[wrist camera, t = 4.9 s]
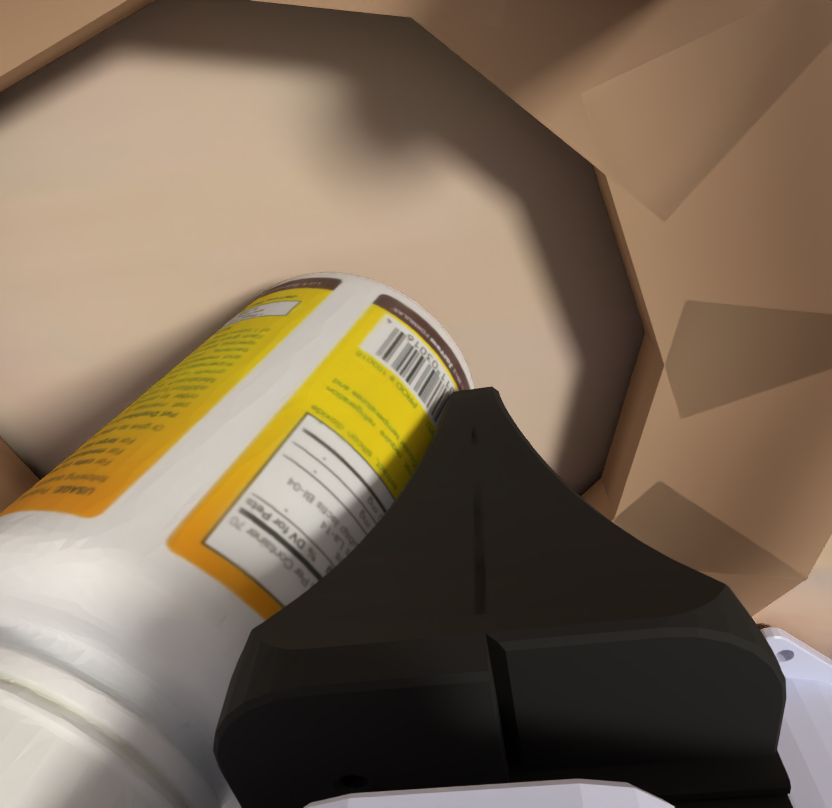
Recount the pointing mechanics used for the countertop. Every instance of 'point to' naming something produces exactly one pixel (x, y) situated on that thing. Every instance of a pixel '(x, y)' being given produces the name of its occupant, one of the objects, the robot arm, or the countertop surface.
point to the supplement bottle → (202, 536)
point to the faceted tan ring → (659, 244)
